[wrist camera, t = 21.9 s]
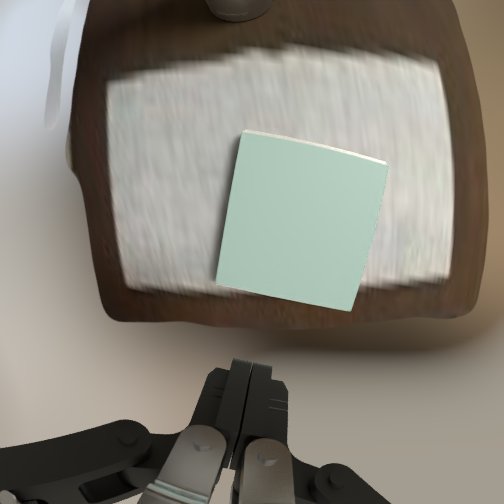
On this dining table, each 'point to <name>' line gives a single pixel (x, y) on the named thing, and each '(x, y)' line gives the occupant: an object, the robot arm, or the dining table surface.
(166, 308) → the dining table surface
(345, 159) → the cover
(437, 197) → the dining table surface
